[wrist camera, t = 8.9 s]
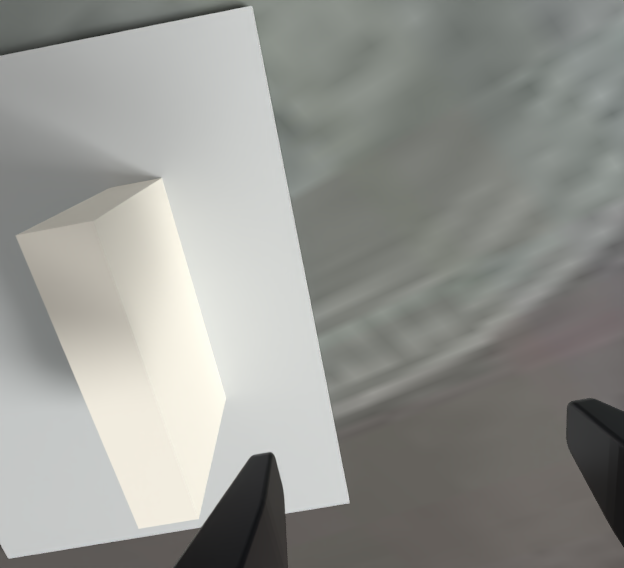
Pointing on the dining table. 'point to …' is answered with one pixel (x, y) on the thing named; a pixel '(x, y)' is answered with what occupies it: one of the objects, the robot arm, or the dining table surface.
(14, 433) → the mat
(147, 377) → the block
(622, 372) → the dining table surface
